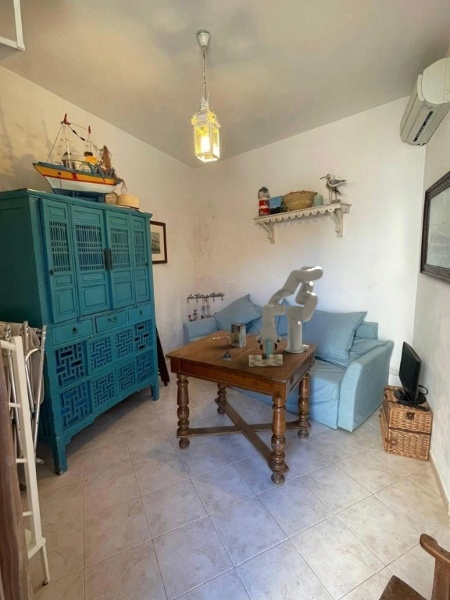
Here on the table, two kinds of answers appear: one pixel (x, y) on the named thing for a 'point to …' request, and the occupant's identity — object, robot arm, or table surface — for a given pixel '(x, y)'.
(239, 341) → the coffee box
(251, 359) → the slotted board
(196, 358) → the table surface
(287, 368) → the table surface
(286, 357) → the table surface
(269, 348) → the cross plate
